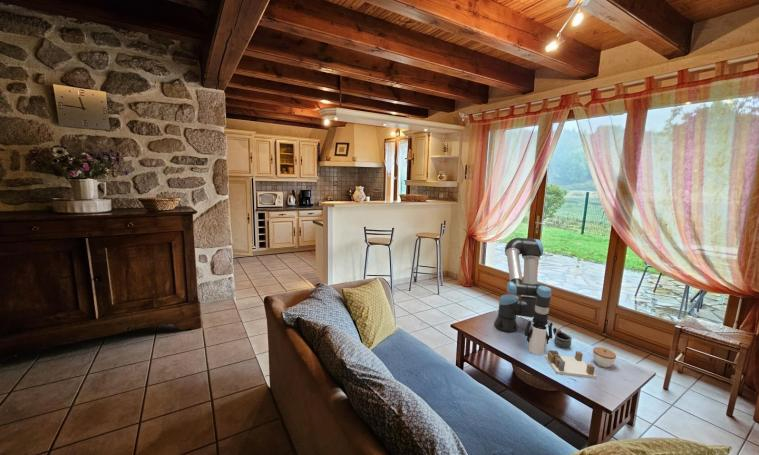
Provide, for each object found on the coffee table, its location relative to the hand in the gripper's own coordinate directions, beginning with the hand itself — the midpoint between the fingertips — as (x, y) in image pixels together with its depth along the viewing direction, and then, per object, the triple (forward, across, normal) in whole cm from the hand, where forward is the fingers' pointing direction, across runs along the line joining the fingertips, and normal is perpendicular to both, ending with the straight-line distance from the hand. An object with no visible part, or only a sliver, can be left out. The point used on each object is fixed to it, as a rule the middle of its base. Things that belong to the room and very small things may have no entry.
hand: (536, 347), depth 194 cm
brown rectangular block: (0, +6, -14) cm, 15 cm away
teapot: (+3, +18, +11) cm, 21 cm away
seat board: (+2, +13, -14) cm, 19 cm away
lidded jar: (+3, +34, -7) cm, 35 cm away
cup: (+2, 0, 0) cm, 2 cm away
